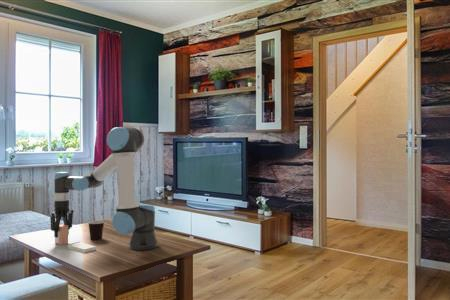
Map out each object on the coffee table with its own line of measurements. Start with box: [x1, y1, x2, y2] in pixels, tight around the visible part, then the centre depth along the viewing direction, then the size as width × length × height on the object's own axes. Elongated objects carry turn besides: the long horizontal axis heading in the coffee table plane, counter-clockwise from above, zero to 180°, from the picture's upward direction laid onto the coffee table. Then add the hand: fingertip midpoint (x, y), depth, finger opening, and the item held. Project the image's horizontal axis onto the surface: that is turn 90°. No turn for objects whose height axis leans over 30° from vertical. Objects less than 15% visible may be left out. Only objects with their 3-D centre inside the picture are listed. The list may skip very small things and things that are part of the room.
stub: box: [54, 223, 69, 246], centre depth 205 cm, size 6×4×10 cm, turn 56°
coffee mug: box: [88, 220, 105, 241], centre depth 217 cm, size 12×9×10 cm
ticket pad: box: [67, 241, 97, 254], centre depth 195 cm, size 14×7×2 cm, turn 56°
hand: (61, 241), depth 205 cm, fingers closed on stub, 4 cm apart
